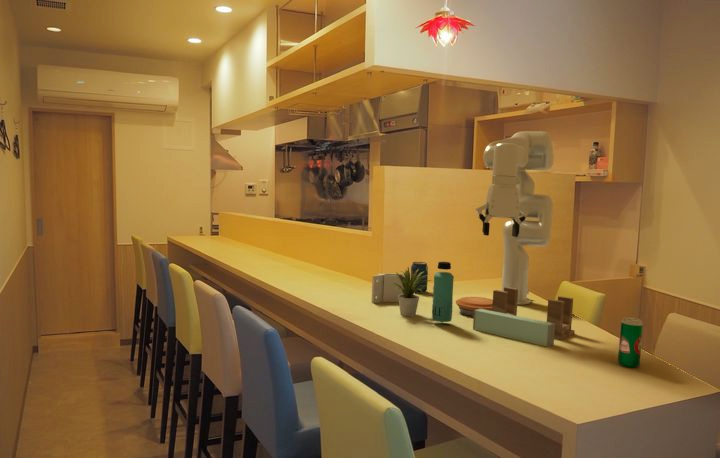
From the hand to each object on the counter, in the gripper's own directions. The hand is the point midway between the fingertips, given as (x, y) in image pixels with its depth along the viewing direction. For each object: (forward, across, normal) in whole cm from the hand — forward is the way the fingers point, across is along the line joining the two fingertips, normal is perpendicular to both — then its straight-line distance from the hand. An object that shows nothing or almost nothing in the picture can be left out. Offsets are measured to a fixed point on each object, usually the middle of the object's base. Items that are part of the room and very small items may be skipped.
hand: (500, 235), depth 177 cm
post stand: (+28, -10, +6) cm, 31 cm away
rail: (+29, 0, +14) cm, 32 cm away
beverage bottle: (+29, +18, 0) cm, 34 cm away
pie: (+28, 0, -15) cm, 32 cm away
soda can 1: (+27, +13, -50) cm, 59 cm away
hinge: (+28, +29, -32) cm, 52 cm away
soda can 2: (+30, -20, +40) cm, 54 cm away
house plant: (+29, +26, -11) cm, 41 cm away
